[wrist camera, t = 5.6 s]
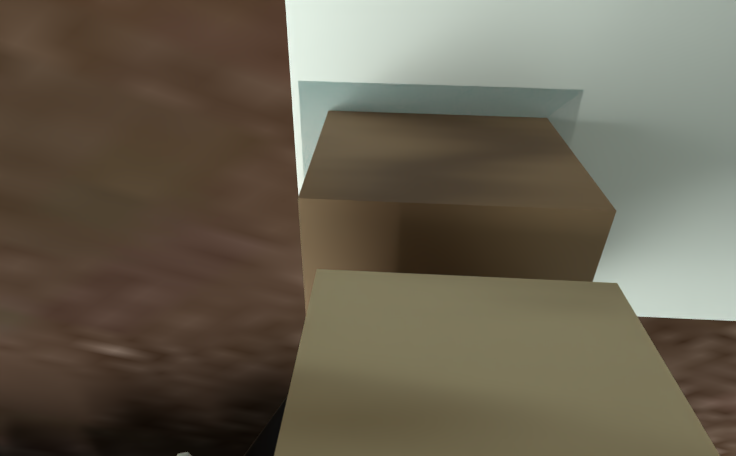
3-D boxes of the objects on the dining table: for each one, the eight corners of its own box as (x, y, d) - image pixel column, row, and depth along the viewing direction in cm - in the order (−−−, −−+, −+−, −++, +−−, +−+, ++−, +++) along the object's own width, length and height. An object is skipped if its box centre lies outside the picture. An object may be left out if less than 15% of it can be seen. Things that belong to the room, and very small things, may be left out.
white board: (1132, -216, 10) (1160, -221, 9) (788, 315, 17) (797, 323, 17) (273, -226, 10) (269, -231, 10) (307, 293, 18) (305, 300, 17)
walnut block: (546, 117, 13) (616, 210, 9) (509, 288, 17) (547, 414, 12) (328, 110, 14) (297, 198, 9) (333, 280, 17) (311, 402, 13)
